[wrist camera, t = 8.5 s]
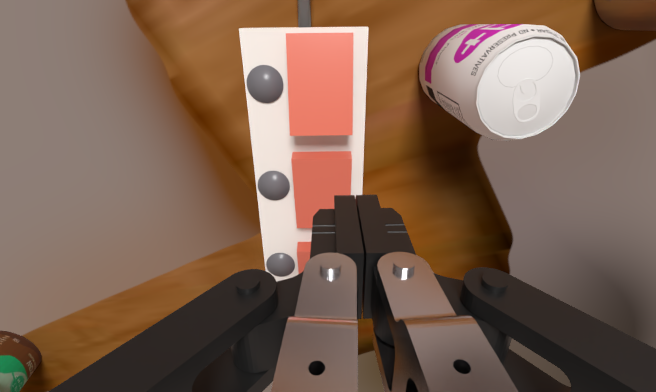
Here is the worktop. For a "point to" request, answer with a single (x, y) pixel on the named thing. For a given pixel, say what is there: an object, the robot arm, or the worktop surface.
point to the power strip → (274, 134)
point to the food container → (16, 361)
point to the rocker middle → (319, 182)
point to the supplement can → (501, 77)
